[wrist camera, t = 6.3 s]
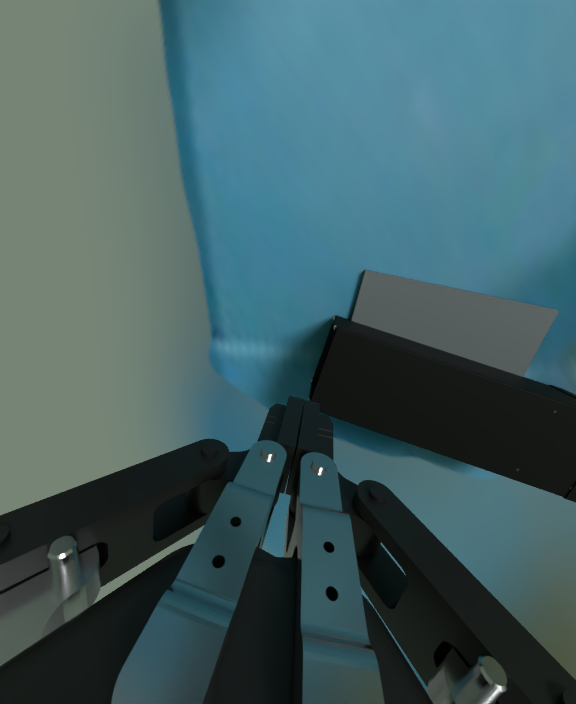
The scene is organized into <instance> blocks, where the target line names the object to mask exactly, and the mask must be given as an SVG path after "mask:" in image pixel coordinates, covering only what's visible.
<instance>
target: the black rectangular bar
mask: <svg viewBox="0 0 576 704" xmlns="http://www.w3.org/2000/svg"><path fill="white" fill-rule="evenodd" d="M311 381H312V382H311V388H310V394H309V398H308V401H312V402H316V403H320V410H319V412H321V413H323V414H326V415H329V416H332V417H335V418H338V419H341V420H344V421H346V422H349V423H352V424H355V425H358V426H361V427H364V428H367V429H369V430H372V431H375V432H378V433H381V434H384V435H387V436H390V437H393V438H395V439H398V440H401V441H404V442H407V443H410V444H413V445H416V446H418V447H421V448H424V449H427V450H430V451H433V452H436V453H439V454H441V455H444V456H447V457H450V458H453V459H456V460H459V461H462V462H464V463H467V464H470V465H473V466H476V467H479V468H482V469H485V470H487V471H490V472H493V473H496V474H499V475H502V476H505V477H508V478H511V479H513V480H516V481H519V482H522V483H525V484H528V485H531V486H533V487H536V488H539V489H543V490H545V491H548V492H551V493H554V494H556V495H559V496H562V497H563V498H565V499H568V500H571V501H574V502H576V395H575V394H573V393H570V392H568V391H566V390H564V389H561V388H558V387H555V386H552V385H546V384H543V383H540V382H537V381H534V380H531V379H528V378H525V377H522V376H519V375H516V374H513V373H509V372H506V371H503V370H500V369H497V368H494V367H491V366H488V365H485V364H482V363H479V362H476V361H473V360H470V359H467V358H464V357H461V356H458V355H455V354H452V353H449V352H446V351H443V350H439V349H436V348H433V347H430V346H427V345H424V344H421V343H418V342H415V341H412V340H409V339H406V338H403V337H400V336H397V335H393V334H390V333H387V332H384V331H381V330H378V329H375V328H372V327H369V326H366V325H363V324H360V323H357V322H354V321H351V320H349V319H346V318H343V317H340V316H335V317H334V318H333V324H332V327H331V330H330V332H329V335H328V338H327V341H326V344H325V346H324V349H323V352H322V354H321V357H320V360H319V363H318V366H317V369H316V371H315V374H314V377H313V378H312V379H311Z"/></svg>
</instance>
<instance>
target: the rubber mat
mask: <svg viewBox="0 0 576 704" xmlns="http://www.w3.org/2000/svg"><path fill="white" fill-rule="evenodd" d="M558 312H559V310H555V309H551V308H546V307H541V306H536V305H532V304H527V303H522V302H517V301H512V300H508V299H503V298H498V297H493V296H489V295H484V294H479V293H474V292H469V291H465V290H460V289H455V288H450V287H445V286H441V285H436V284H431V283H426V282H421V281H417V280H412V279H407V278H402V277H397V276H393V275H388V274H383V273H378V272H373V271H369V270H365V272H364V275H363V279H362V282H361V286H360V289H359V293H358V297H357V300H356V304H355V307H354V311H353V314H352V318H351V321H354V322H357V323H360V324H363V325H366V326H369V327H372V328H375V329H378V330H381V331H384V332H387V333H390V334H393V335H397V336H400V337H403V338H406V339H409V340H412V341H415V342H418V343H421V344H424V345H427V346H430V347H433V348H436V349H439V350H443V351H446V352H449V353H452V354H455V355H458V356H461V357H464V358H467V359H470V360H473V361H476V362H479V363H482V364H485V365H488V366H491V367H494V368H497V369H500V370H503V371H506V372H509V373H513V374H516V375H519V376H522V377H523V376H524V374H525V372H526V370H527V368H528V367H529V365H530V363H531V361H532V359H533V358H534V356H535V354H536V352H537V350H538V348H539V347H540V345H541V343H542V341H543V339H544V338H545V336H546V334H547V332H548V330H549V329H550V327H551V325H552V323H553V321H554V319H555V318H556V316H557V314H558Z"/></svg>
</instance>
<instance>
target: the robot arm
mask: <svg viewBox="0 0 576 704" xmlns="http://www.w3.org/2000/svg"><path fill="white" fill-rule="evenodd" d="M303 402H304V399H300V398H295V397H291V396H289V399H288V403H287V406H285V405H281V404H275V405H274V406H272V407H271V408H270V409H269V412H268V415H267V417H266V420H265V423H264V425H263V428H262V431H261V434H260V436H259V439H258V442H257V443H254V444H253V445H252V447H251V449H249V450H247V451H242V452H229V449H228V447H227V446H226V445H225V444H224V443H223V442H221V441H219V440H215V439H204V440H200V441H197V442H195V443H192V444H190V445H187V446H184V447H182V448H179V449H176V450H174V451H171V452H168V453H165V454H163V455H160V456H158V457H155V458H152V459H150V460H147V461H144V462H142V463H139V464H136V465H134V466H131V467H128V468H126V469H123V470H120V471H118V472H115V473H112V474H110V475H107V476H105V477H102V478H99V479H97V480H94V481H91V482H88V483H86V484H83V485H80V486H78V487H75V488H72V489H70V490H67V491H65V492H62V493H59V494H56V495H54V496H51V497H48V498H46V499H43V500H40V501H38V502H35V503H33V504H30V505H27V506H24V507H22V508H19V509H16V510H14V511H11V512H9V513H6V514H3V515H1V516H0V704H576V680H575V679H574V678H573V677H572V676H571V675H570V674H569V673H568V672H567V671H566V670H565V669H564V668H563V667H562V666H561V665H560V664H559V663H558V662H557V661H556V660H555V659H554V658H553V657H552V656H551V655H550V654H549V653H548V652H547V650H546V649H545V648H544V647H542V645H541V644H540V643H539V642H538V641H537V640H536V639H535V638H534V637H533V636H532V635H531V634H530V633H529V632H528V631H527V630H526V629H525V628H524V627H523V626H522V625H521V624H520V623H519V622H518V621H517V620H516V619H515V618H514V617H513V616H512V615H511V614H510V612H508V610H507V609H505V607H504V606H503V605H502V604H501V603H500V602H499V601H498V600H497V599H496V598H495V597H494V596H493V595H492V594H491V593H490V592H489V591H488V590H487V589H486V588H485V587H484V586H483V585H482V584H481V583H480V582H479V581H478V580H477V579H476V578H475V577H474V576H473V575H472V574H471V573H470V571H469V570H468V569H467V568H466V567H465V566H464V565H463V564H462V563H461V562H460V561H459V560H458V559H457V558H456V557H455V556H454V555H453V554H452V553H451V552H450V551H449V550H448V549H447V548H446V547H445V546H444V545H443V544H442V543H441V542H440V541H439V540H438V539H437V538H436V537H435V536H434V535H433V534H432V533H431V532H430V531H429V529H427V527H426V526H425V525H424V524H423V523H422V522H421V521H420V520H419V519H418V518H417V517H416V516H415V515H414V514H413V513H412V512H411V511H410V510H409V509H408V508H407V507H406V506H405V505H404V504H403V503H402V502H401V501H400V500H399V499H398V498H397V497H396V496H395V495H394V494H393V493H392V492H391V491H390V490H389V489H388V488H387V487H386V486H385V485H383V484H381V483H379V482H376V481H372V480H365V481H362V482H360V483H359V485H356V484H354V483H353V482H351V481H349V480H347V479H345V478H344V477H343V476H342V475H341V474H340V473H339V472H338V471H337V466H336V464H335V463H334V461H333V423H332V421H331V419H330V418H329V416H326V415H322V414H319V410H320V403H316V402H312V401H308V400H305V402H304V406H303ZM302 408H303V410H302ZM289 471H290V472H289ZM288 475H289V478H288ZM287 479H288V483H287ZM286 483H287V489H286V494H288V495H291V498H290V504H289V507H288V511H287V519H286V533H285V545H284V557H274V556H273V555H271V554H269V553H268V552H266V551H264V550H262V546H263V543H264V540H265V537H266V533H267V530H268V527H269V523H270V520H271V517H272V514H273V511H274V506H275V505H276V503H277V501H278V498H279V493H284V491H285V487H286ZM203 525H204V527H203V529H202V531H201V533H200V535H199V537H198V538H197V540H196V542H195V544H191V545H188V546H185V547H182V548H180V549H178V550H176V551H174V552H172V553H170V554H169V555H167V556H166V557H164V558H163V559H161V560H160V561H158V562H157V563H155V564H154V565H152V566H151V567H149V568H148V569H146V570H145V571H143V572H142V573H140V574H139V575H137V576H136V577H134V578H132V579H131V580H129V581H128V582H127V583H125V584H123V585H122V586H120V587H119V588H117V589H116V590H115V591H113V592H112V593H110V594H108V595H107V596H105V597H104V598H102V599H101V600H99V601H98V602H96V603H95V604H93V603H94V601H95V600H96V598H97V596H98V594H99V591H100V587H102V586H104V585H105V584H107V583H109V582H110V581H112V580H114V579H115V578H117V577H119V576H120V575H122V574H124V573H125V572H127V571H129V570H130V569H132V568H134V567H135V566H137V565H139V564H140V563H142V562H143V561H145V560H147V559H149V558H150V557H152V556H153V555H155V554H157V553H159V552H160V551H162V550H164V549H165V548H167V547H169V546H170V545H172V544H174V543H175V542H177V541H179V540H180V539H182V538H183V537H185V536H187V535H189V534H190V533H192V532H193V531H195V530H197V529H198V528H200V527H202V526H203ZM381 542H382V544H383V545H384V546H385V547H386V549H387V550H388V551H389V552H390V553H391V555H392V556H393V557H394V558H395V560H396V561H397V562H398V563H399V565H400V566H401V567H402V569H403V570H404V572H405V574H406V576H405V574H404V573H403V572H402V571H401V570H400V568H399V567H398V566H397V564H396V563H395V562H394V561H393V559H392V558H391V557H390V556H389V554H388V553H387V552H386V551H385V549H384V548H383V547H382V546H381V544H380V543H381ZM361 587H362V589H363V590H364V592H365V593H366V595H367V596H368V598H369V600H370V601H371V602H372V604H373V605H374V607H375V609H376V610H377V612H378V613H379V615H380V616H381V618H382V619H383V621H384V622H385V624H386V625H387V627H388V628H389V630H390V631H391V633H392V634H393V636H394V637H395V639H396V640H397V642H398V644H399V645H400V647H401V648H402V650H403V651H404V653H405V654H406V655H407V657H408V659H409V660H410V662H411V663H412V665H413V666H414V668H415V669H416V671H417V672H418V674H419V675H420V677H421V678H422V680H423V681H424V683H425V684H426V686H427V687H428V694H427V692H426V691H425V689H424V688H423V686H422V684H421V683H420V681H419V680H418V678H417V677H416V675H415V674H414V672H413V670H412V668H411V667H410V665H409V664H408V662H407V660H406V659H405V657H404V655H403V654H402V652H401V651H400V649H399V647H398V646H397V644H396V643H395V641H394V639H393V638H392V636H391V635H390V633H389V632H388V630H387V628H386V627H385V625H384V623H383V622H382V620H381V619H380V617H379V616H378V614H377V612H376V611H375V609H374V608H373V607H372V605H371V604H370V603H369V601H368V600H367V599H366V598H365V597H364V596H363V595H362V592H361ZM92 604H93V605H92Z"/></svg>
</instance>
